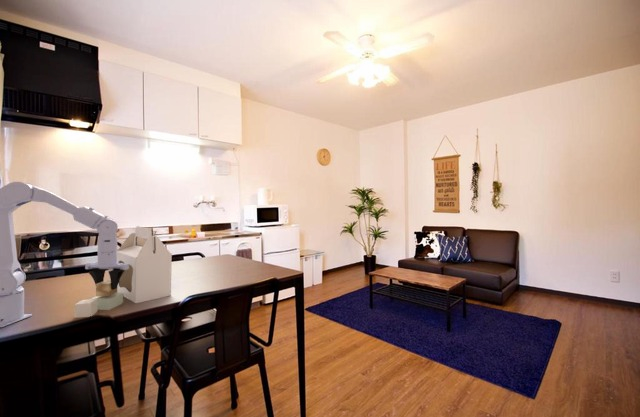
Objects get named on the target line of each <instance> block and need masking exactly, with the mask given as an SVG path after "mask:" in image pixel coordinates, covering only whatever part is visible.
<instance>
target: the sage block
mask: <svg viewBox="0 0 640 417" xmlns="http://www.w3.org/2000/svg"><path fill="white" fill-rule="evenodd" d="M90 299H98V303H97V311H110V310H113V309H115V308H116V307H118V306H120V305H122V304H124V296H123V293H115V294H113V295H111V296H96V295H95V296H93V297H91V298H90Z"/></svg>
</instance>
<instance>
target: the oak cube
mask: <svg viewBox="0 0 640 417" xmlns="http://www.w3.org/2000/svg"><path fill="white" fill-rule="evenodd" d="M115 293H117V288H116V289H114V290H111V280H104V281H103V282H100V283H97V284H95V297H96V296H111V295H113V294H115Z"/></svg>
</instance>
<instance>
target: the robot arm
mask: <svg viewBox="0 0 640 417" xmlns="http://www.w3.org/2000/svg"><path fill="white" fill-rule="evenodd" d="M31 202H35V203H36V202H37V203H45V204H48V205H51V206H52V207H55V208H57V209H59V210H60V211H63V212H66V213H67V214H70V215H72V217H73V220H74V221H75V222H78V223H79V224H82V225H83V226H86V227H88V228H89V229H92V230H96V231H97V233H98V239H97V262H88V263H85V264H84V266H85V267H84V269H85V270H89V271H88V274H89V275H90V276H91V278H92V279H93V281H94V285H96V284H97V283H100V282H103V281H105V280H104V279H105V274H106V270H108V275H109V279H110V281H111V290H114V289H116V288H117V286H118V283H119V280H120V278H121V276H122V274H123V272H124V271H125V270H126V269H129V264H126V263H117V250H118V233H117V231H118V227H119V226H118V223H117V221H115V219H114V218H110V217H109V216H108V215H107V214H101V213H100V212H97V211H95V208H94V207H92V206H90V207H88V206H77V205H76V204H74V203H72V202H70V201H69V200H66V199H64V198H63V197H61V196H59V195H57V194H55V193H53V192H52V191H49V190H46V189H45V188H42V187H38V186H35V185H34V184H32V183H27V182H22V181H12V182H10V183H7V184H5V185H4V186H2V187H0V327H1V328H3V327H5V326H10V325H12V324H14V323H16V322H20V321H21V320H24V319H27V318H29V317H32V315H33V314H32V313H28V314H27V313H25V288H24V287H23V286H22V285H23V284H24V283H25V281H26V279H27V276H26V273H25V272H24V271H23V269H22V268H21V267H22V266H21V264H20V262H19V260H18V253H17V252H18V251H17V244H16V235H15V227H14V224H15V223H14V217H13V213H14V211H16V210H17V209H18V208H21V207H22V206H23V205H25V204H28V203H31ZM108 217H109V218H108Z"/></svg>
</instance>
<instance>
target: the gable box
mask: <svg viewBox="0 0 640 417" xmlns="http://www.w3.org/2000/svg"><path fill="white" fill-rule="evenodd" d="M153 229H154V228H151V227H146V226H137V225H136V226H135V232H132V233H130V234H129V235H128V237H127V238H126V239H125V240H124V242H123V243H122V244H121V245H120V247H119V248H117V263H126V264H129V269H126V270H125V271H124V272H123V274H122V276H121V278H120V280H119V283H118V286H117V293H123V298H125V299H127V300H129V301H131V302H133V303H134V304H139V303H144V302H148V301H153V300H157V299H162V298H166V297H169V296H172V257H173V256H172V253H171V252H170V251H169V250H168V248H167V247H166V246H165V244H164V243H163V241H162V240H161V239H160V238H159V237H158V236H156V234H157V230H153Z"/></svg>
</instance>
